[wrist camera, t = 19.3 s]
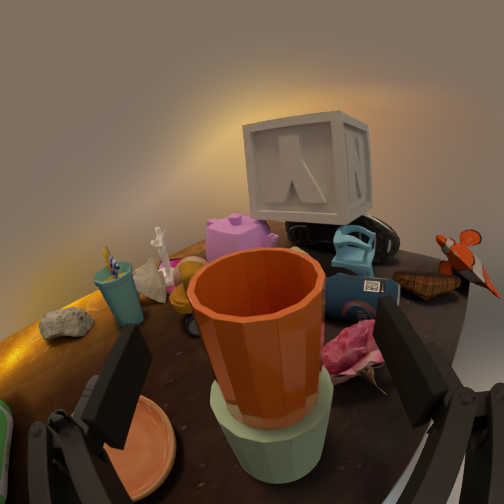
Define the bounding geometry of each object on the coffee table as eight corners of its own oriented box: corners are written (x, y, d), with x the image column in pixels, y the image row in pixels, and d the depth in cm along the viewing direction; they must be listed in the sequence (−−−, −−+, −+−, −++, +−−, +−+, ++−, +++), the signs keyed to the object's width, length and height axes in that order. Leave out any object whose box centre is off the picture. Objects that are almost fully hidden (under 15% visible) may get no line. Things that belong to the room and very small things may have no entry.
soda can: (392, 332, 38) (320, 324, 43) (395, 297, 42) (328, 290, 47) (400, 308, 33) (317, 299, 38) (401, 270, 38) (326, 263, 43)
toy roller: (267, 316, 45) (258, 260, 40) (183, 343, 42) (162, 289, 37) (250, 290, 53) (240, 240, 48) (177, 313, 49) (160, 263, 45)
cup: (165, 329, 45) (138, 252, 39) (128, 350, 41) (92, 272, 34) (138, 299, 55) (115, 234, 49) (107, 314, 51) (80, 249, 44)
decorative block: (298, 204, 68) (291, 125, 63) (372, 208, 57) (367, 118, 51) (251, 219, 54) (241, 118, 48) (346, 225, 43) (337, 101, 37)
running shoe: (394, 224, 46) (412, 213, 53) (281, 197, 67) (310, 190, 74) (386, 278, 51) (404, 260, 58) (281, 240, 72) (309, 229, 78)
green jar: (310, 490, 19) (318, 452, 13) (224, 470, 22) (189, 421, 17) (329, 420, 26) (340, 353, 21) (254, 408, 30) (237, 340, 24)
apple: (188, 311, 52) (162, 282, 49) (191, 289, 59) (169, 261, 55) (222, 295, 51) (197, 263, 47) (222, 273, 58) (201, 243, 54)
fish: (454, 208, 37) (450, 211, 49) (415, 264, 43) (421, 255, 54) (526, 279, 28) (508, 267, 40) (485, 333, 34) (477, 309, 46)
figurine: (154, 269, 62) (146, 221, 56) (184, 268, 63) (178, 219, 57) (148, 287, 56) (137, 236, 50) (181, 286, 56) (173, 233, 51)
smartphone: (147, 293, 55) (160, 260, 68) (149, 297, 55) (161, 263, 69) (181, 290, 55) (188, 256, 68) (182, 294, 56) (188, 260, 69)
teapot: (195, 271, 63) (182, 218, 57) (234, 249, 71) (226, 201, 65) (258, 300, 50) (249, 235, 44) (299, 270, 57) (295, 211, 52)
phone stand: (370, 306, 43) (376, 240, 38) (325, 297, 47) (324, 234, 42) (377, 282, 49) (382, 222, 44) (337, 276, 53) (337, 218, 48)
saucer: (79, 514, 14) (63, 506, 13) (67, 417, 27) (56, 405, 26) (203, 490, 20) (195, 483, 18) (163, 390, 33) (155, 376, 32)
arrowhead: (121, 270, 51) (145, 314, 50) (124, 265, 50) (148, 311, 49) (153, 257, 57) (175, 298, 57) (157, 253, 56) (180, 295, 55)
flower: (306, 387, 35) (306, 317, 36) (372, 380, 34) (374, 313, 36) (319, 419, 24) (321, 326, 25) (406, 405, 23) (412, 317, 25)
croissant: (465, 274, 35) (462, 305, 35) (457, 275, 41) (454, 301, 41) (393, 268, 42) (389, 298, 42) (393, 269, 48) (390, 295, 48)
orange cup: (307, 438, 15) (311, 331, 10) (208, 415, 17) (161, 308, 13) (326, 361, 21) (331, 249, 16) (244, 349, 23) (222, 245, 19)
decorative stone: (50, 356, 39) (37, 336, 37) (44, 331, 46) (33, 313, 44) (99, 329, 46) (88, 308, 44) (86, 308, 53) (77, 289, 51)
